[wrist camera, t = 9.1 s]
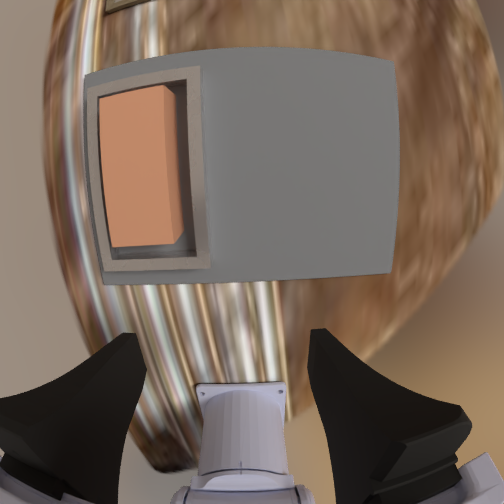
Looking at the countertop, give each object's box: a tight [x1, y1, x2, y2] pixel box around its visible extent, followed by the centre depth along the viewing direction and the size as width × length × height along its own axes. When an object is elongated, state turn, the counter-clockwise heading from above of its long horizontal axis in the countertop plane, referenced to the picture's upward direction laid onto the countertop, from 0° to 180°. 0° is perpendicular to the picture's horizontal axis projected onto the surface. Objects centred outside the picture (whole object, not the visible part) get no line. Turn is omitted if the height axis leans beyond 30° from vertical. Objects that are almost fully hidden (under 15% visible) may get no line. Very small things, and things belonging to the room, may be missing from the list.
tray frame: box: [87, 66, 213, 271], centre depth 17 cm, size 13×8×2 cm, turn 2°
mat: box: [84, 47, 400, 285], centre depth 18 cm, size 16×22×1 cm
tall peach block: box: [99, 85, 184, 247], centre depth 16 cm, size 4×9×3 cm, turn 2°
